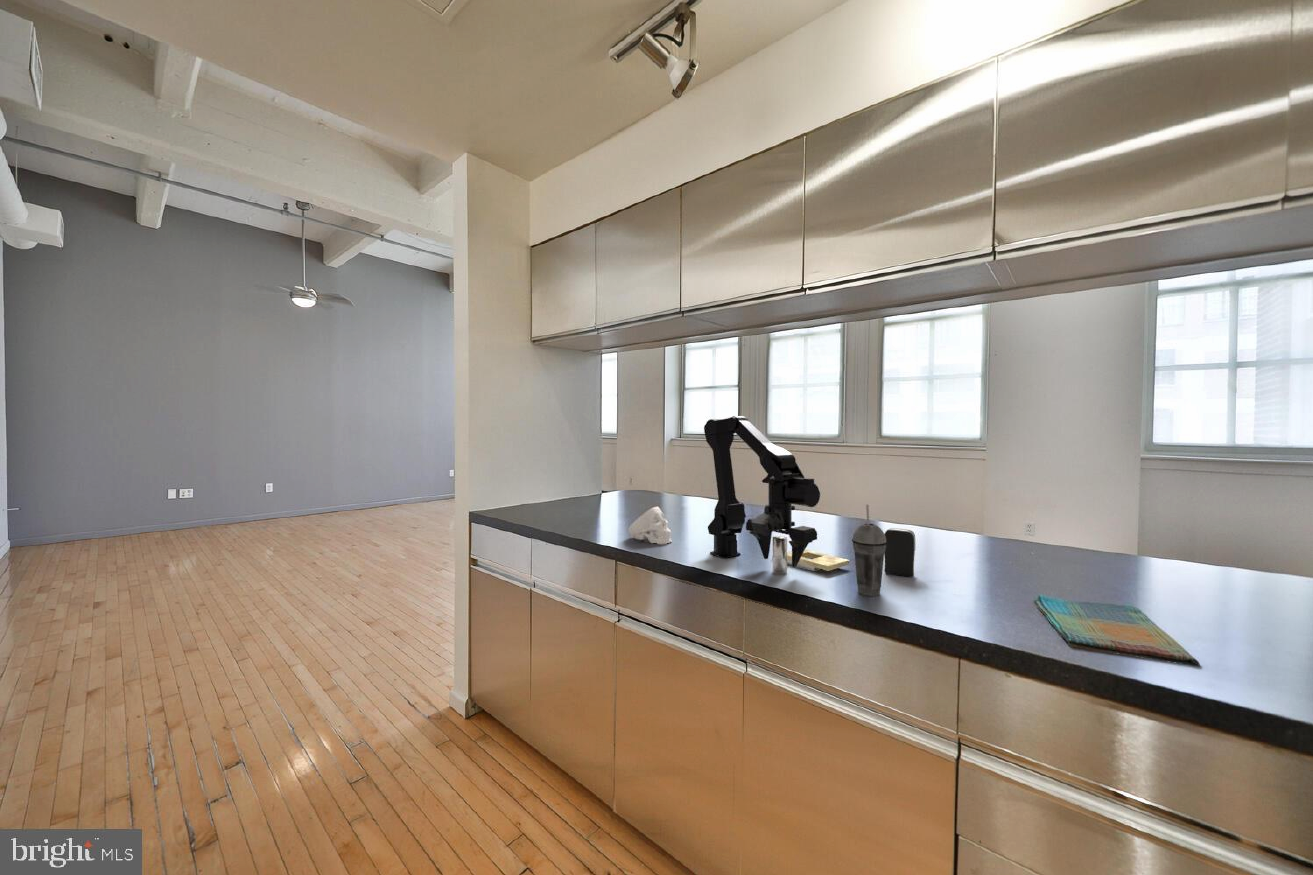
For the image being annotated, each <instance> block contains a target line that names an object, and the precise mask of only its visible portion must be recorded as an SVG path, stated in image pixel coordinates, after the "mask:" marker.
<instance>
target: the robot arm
mask: <svg viewBox="0 0 1313 875" xmlns="http://www.w3.org/2000/svg"><path fill="white" fill-rule="evenodd" d="M703 433H704V436H705V441H706V443H707V445H708V446H709V447H710V449H711V450H712V454H713V455H712V456H713V464H714V472H715V480H716V481H715V482H716V487H717V488H716V489H717V497H718V499H717V503H716V505H715V507H714V514H713V515H714V517H713V519H712V520H711V522H710V523H709V524H708V525H707V531H708V534H709V535H712V536H713V551H709V554H711V555H713V556H716V557H720V558H723V559H727V558H731V557H737V556H740V555H741V552H738V539H737V535H738V534H741V533H742V531H743V527H744V525H745V530H746V531H749V533H750V534H749V535H752V536H754V537H755V539H756V540H757V543H758V545H759V548H760V550H761V554H762V556H763V557H762V558H763V559H764V560H768V559H769V556H770V550H771V549H770V548H771V544H772V543H771V541H772V536H773V532H774V533H779V534H784V535H788V537H789V539H790V540H789V541H788V543H789V545H790V546H791V551H792V565H791V567H792V568H797V567H796V566H797V564H798V562H799V560H800V558H801V556H802V554H803V552H804V550H807V547H808V545H809V544H810V543H811V544H812V543H813V542H814V541H815V540H818V531H817V529H815V527H811V526H810V527H809V526H805V525H800V526H796V522H795V521H792V519H793V518H792V512H793V511H795V510H796V506H802V507H808V508H814V507H817V505H818V503H819V502H820V499H821V492H820V489H819V486H818V485H817V484H816V483H815V479H814V477H813V478H810V477H808V478H805V476H804V474H803V472H802V471H801V469H800V467H799V464H798V463H797V462H796V457H795V455H794V454H793V453H792V452H790V451H788V450H787V449H785V448H783V447H780V446H778V445H775V444H774V443H772V442H771V441H770V440H769V439H768V438H767V437H766V436H765V435H763V433H762V432H761V431H760V430H759V429H757V427H755V426H754V425H753V424H752V422H750V420H749V418H748V417H746V416H744V415H739V416H738V415H733V416H731V417H726V418H723V419H721V418H720V419H718V418H716V419H715V418H713V419H712V418H711V419H708V420H707V421H706V422H705V425H704V426H703ZM735 434H736V435H737V436H738V437H739V438H740V439H741V441H743V442H744V443H745V444H746V445H747V446H748V447H749V448H750V449H751V450H752V451H753V452H754V453H755V454H756V455H757V456H758V458H759V464H760V466H761V467H762V468H763V470H764V471H765V472H766V474H767V475H766V477H764V478H763V479H762V480H761V482H762V483H764V484H767V485H768V498H767V499H768V505H765V506H764V508H763V510H764V511H763V513H760V514H759V515H757V516H756V517H754V518H748V519H747V521H746V518H747V516H746V515H747V514H746V510H745V508H746V507H745V504H744V503H743V502H740V501H739V500H738V499H737V495H736V488H735V480H734V473H733V472H734V471H733V464H732V463H733V462H732V456H731V455H732V454H731V446H732V445H733V442H734V440H735V437H734V436H735ZM795 505H796V506H795ZM795 526H796V527H795Z"/></svg>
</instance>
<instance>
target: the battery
mask: <svg viewBox="0 0 1313 875" xmlns="http://www.w3.org/2000/svg"><path fill="white" fill-rule="evenodd" d="M884 534H885V536H886V542H887V544H886V550H885V553H884V570H883V571H884V573H885V574H889V575H896V576H901V577H910V578H911V577H912V578H913V577H915V556H916V555H915V554H916V534H915V532H914V531H912V530H911V529H906V528H896V527H891V528H888V529H887V530H885V532H884Z"/></svg>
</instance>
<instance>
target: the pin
mask: <svg viewBox="0 0 1313 875" xmlns="http://www.w3.org/2000/svg"><path fill="white" fill-rule="evenodd" d="M787 552H788V537H786V536H782V535H774V536H772V556H773V560H772V574H775V575H778V576H779V575H780V576H783V575H787V574H788V564H787Z"/></svg>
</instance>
